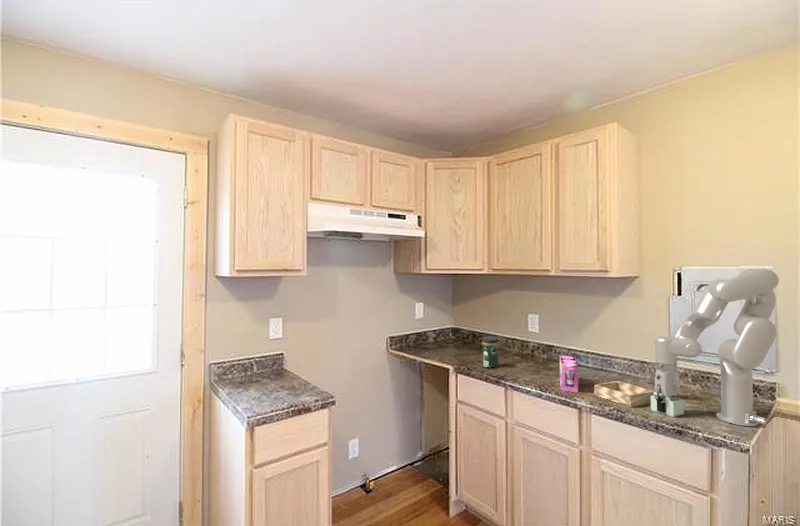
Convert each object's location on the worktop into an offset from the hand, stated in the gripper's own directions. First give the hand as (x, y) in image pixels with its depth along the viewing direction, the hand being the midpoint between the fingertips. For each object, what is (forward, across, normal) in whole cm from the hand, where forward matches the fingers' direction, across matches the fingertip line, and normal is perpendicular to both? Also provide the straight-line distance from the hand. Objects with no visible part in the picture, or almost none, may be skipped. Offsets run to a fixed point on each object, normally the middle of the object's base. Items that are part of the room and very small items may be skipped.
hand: (667, 409), depth 162 cm
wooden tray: (+1, 0, +19) cm, 19 cm away
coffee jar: (+1, -18, +93) cm, 95 cm away
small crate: (+1, 0, 0) cm, 1 cm away
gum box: (+1, -6, +45) cm, 45 cm away
